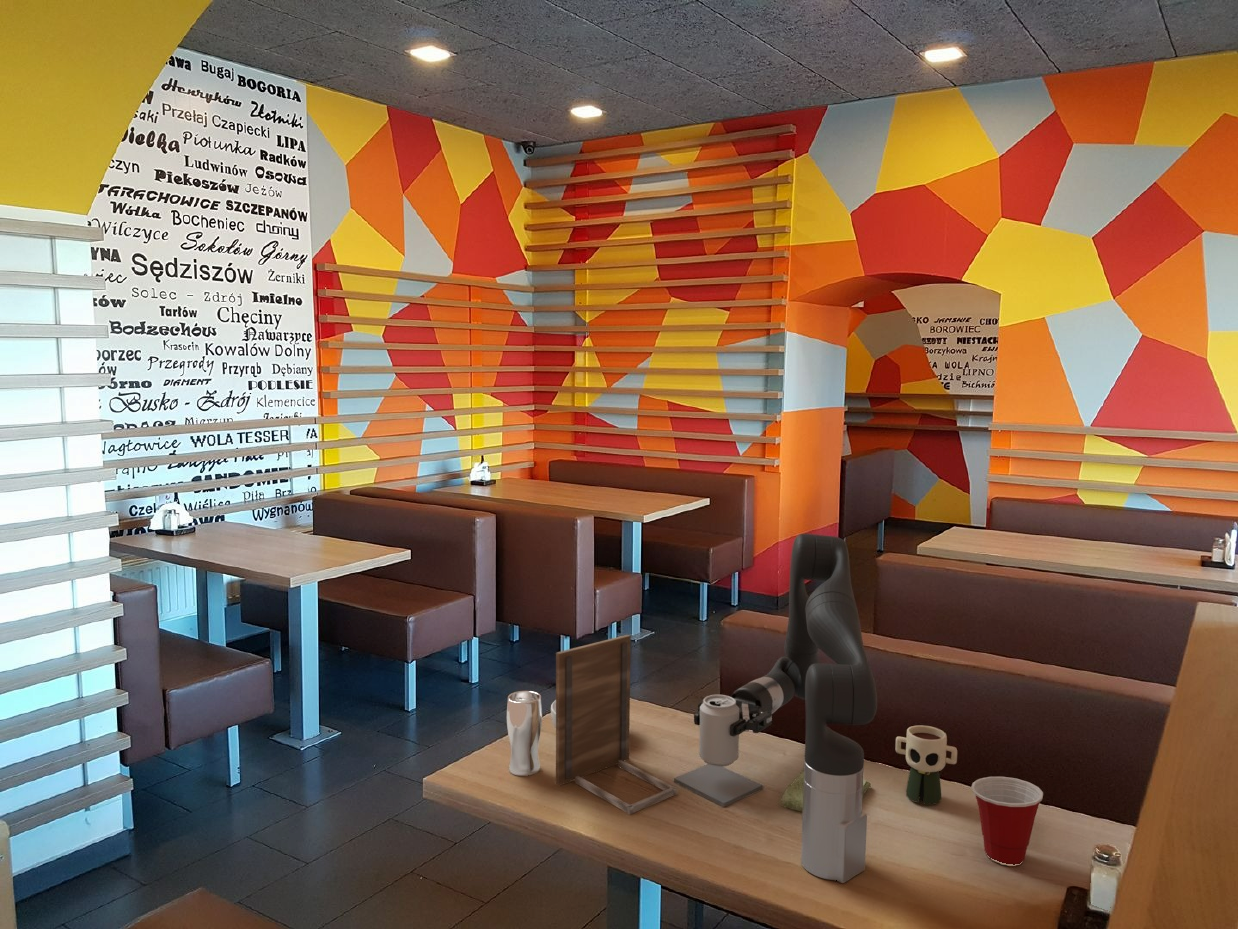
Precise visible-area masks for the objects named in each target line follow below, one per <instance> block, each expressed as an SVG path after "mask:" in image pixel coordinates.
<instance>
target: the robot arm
mask: <svg viewBox="0 0 1238 929" xmlns="http://www.w3.org/2000/svg"><path fill="white" fill-rule="evenodd" d="M851 579H852V578H851V565H850V556H849V548H848V545H847V542H846V541H845V540H844V539H842V538H841V537H838V536H835V535H834V536H832V535H824V534H823V535H822V534H813V533H800V534H798V535H796V537H795V538H794V540H793V543H792V549H791V555H790V568H789V585H788V586H789V590H788V591H789V592H788V594H789V595H788V621H787V628H786V634H785V640H784V641H785V642H784V649H783V650H784V653H785V656H781V657H779V658H778V659H777V660H776V661H775V664H774V665H773V667H772V668H771V670H770V671H769V672H768V673H767V674H765V675H763V676H761V677H759V678H756V679H754V680H751V681H749V682H747V683H746V684H744V685H743V686H741V687H739V688H737V689H736V690H734V691H733V693H732V695H731V696H730V697H732V698H734V699H735V700H736V705H737V706H738V707H739V720H738V721H736V722H735V723H733V724H731V726H730V736H733V737H735V736H736V735H739V736H740V734H743V733H744V732H746V733H748V732H750V731H752V733H754V734H758V733H759V734H760V732H762V731H763V730H765V729H766V728H768V727H770V726H771V725H772V721H773V720H772V719H773V718H772V717H773V716H772V715H773V714H774V713H775V712H776V711H777V710H778V709H779V708H781V707H783V706H785V705H786V704H788V703H789V702H790V701H791V700H792V699H793V698H794V696H795V697H797V698H799V699H801V700H805V703H804V704H805V705H804V706H805V741H804V742H805V743H804V744H805V745H804V761H803V762H804V764H803V766H804V767H803V770H804V789H803V812H802V817H801V818H802V819H801V820H802V823H801V849H800V850H801V851H800V852H801V854H800V862H801V863H800V864H801V865H802V867H803V868H804V869H805V870H806V871H807V872H809V873H810V874H812V875H814V876H815V877H818V878H821V879H823V880H824V879H825V880H831V881H836V880H837V882H839V883H841V884H844V883H846V882H848V881H849V880H851V879H852V878H854V877H855V876H857V875H859V874H860V873H862V872H863V871H865V870H866V850H867V848H866V847H867V828H868V823H867V822H868V815H867V813H866V812H864V811H863V810H862V809H863V796H862V793H863V778H864V770H865V769H864V766H865V752H864V749H863V747H862V746H861V745H860V744H859V743H858V742H856V741H855V740H853V739H851V738H850V737H848V736H844V735H843V734H841V733H839V732H836V731H835V730H833V729H831V728H830V727H829V726H827V725H828V724H832V725H850V726H862V725H867V724H870V723H871V722H872V721H873V720H874V718H875V716H876V714H877V712H878V711H877V710H878V694H877V687H876V681H875V678H874V675H873V671H872V668H871V665H870V662H869V660H868V656H867V652H866V650H865V647H864V642H863V640H864V639H863V635H862V629H861V621H860V616H859V612H858V606H857V603H856V599H855V594H854V590H853V585H852V580H851ZM807 580H808V581H817V582H823V583H821V584H820V585H819V586H817V587H816V588H815V589H814V590H813V592H811V594H810V595H808V593H807V589H806V583H805V581H807ZM819 650H820V651H821V652H823V653H824V654H825V655H826V656H827V657H829V659H831V660H832V661H833V662H834V663H822V662H821V663H820V660H819V658H820V657H819ZM703 703H704V702H703V700H701V701H699V702H698V703H697V712H695V713H694V714H693V722H694V723H693V724H694V725H695V726H700V706H701V705H702V704H703Z"/></svg>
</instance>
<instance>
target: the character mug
mask: <svg viewBox="0 0 1238 929" xmlns="http://www.w3.org/2000/svg"><path fill="white" fill-rule="evenodd" d="M947 738H948V737H947V733H946V732H944V730H941V729H940V728H938V727H934V726H930V725H913V726H909V727H908V728H907V729H906V737H905V736H896V737H895V752H896V753H897V754H899V755H905V760H906V763H907V764H908V766H910V767H911V768H910V769H909V774H908V777H907V778H908V779H907V783H906V789H905V792H906V793H905V794H906V797H907V798H908V799H909V800H911V801H913V802H915V803H919V802H920V801H919V800H920V799H921V800H923V805H935V804H939V803H940V802H941V800H942V786H941V780H940V779H941V778H940V777H941V776H940V772H939V771H942V770H943V769H944V768H945V766H946V765H947V764H950V765H956V764H957V762H958V750H957V747H955V746H951V745H948V744H947V742H948V739H947ZM902 743H906V744H905V748H904V749H903V748H902ZM947 751H948V752H951V754H950V757H947Z"/></svg>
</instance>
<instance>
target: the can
mask: <svg viewBox="0 0 1238 929" xmlns="http://www.w3.org/2000/svg"><path fill="white" fill-rule="evenodd" d="M702 701H703V702H704V703H703V704H702V705H701V706H700V725H699V737H698V739H699V744H698V745H699V749H698V750H699V753H698V754H699V757H700V759H702V761H703V762H704V763H705V764H706V765H707V764H709V765H712V766H717V767H728V766H731V765H733V764H734V762H735V761H737V760H738V758H739V750H740V749H739V746H740V744H739V743H740V742H739V741H740V740H739V739H740V734H739V735H736V736H735V737H733V736H730V726H731V724H733V723H735V722H736V721H738V720H739V707H738V706H737V705H736V700H735V699H734V698H732V697H731V696H729V695H727V694H726V695H725V694H711V695H707V696H705V697H704V698H703V700H702Z"/></svg>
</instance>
